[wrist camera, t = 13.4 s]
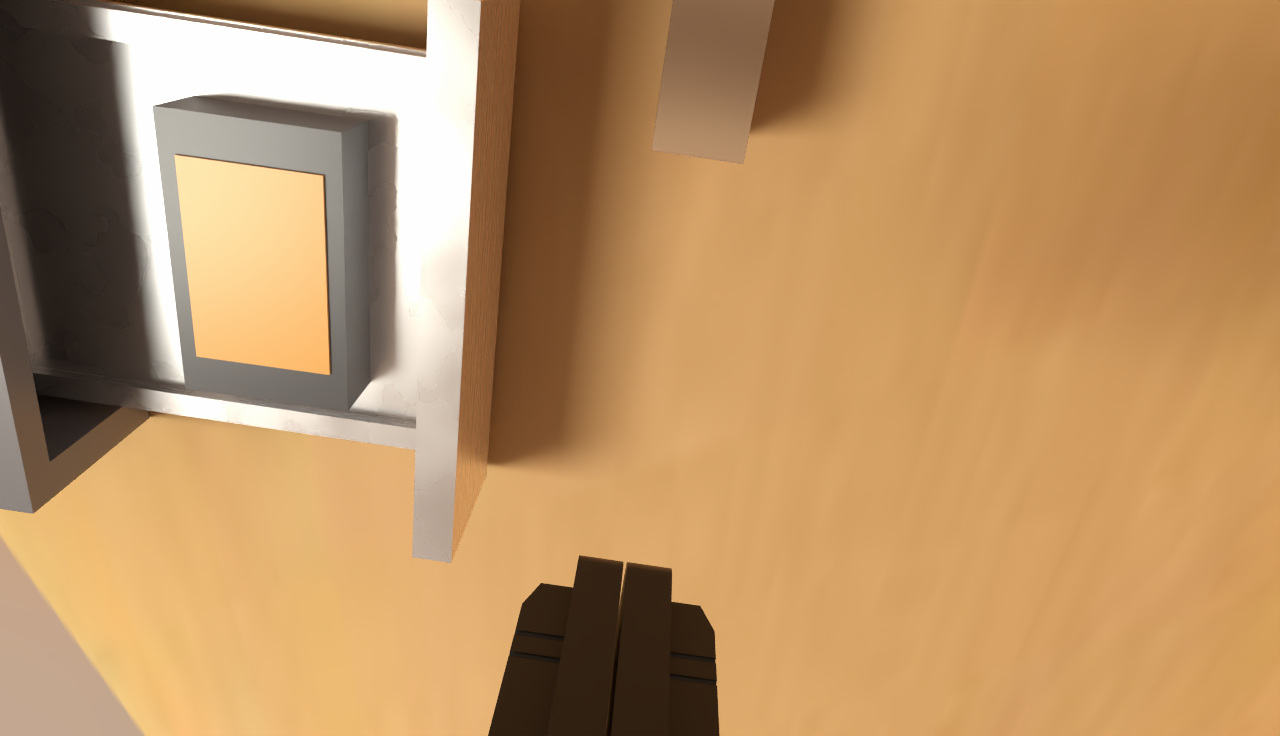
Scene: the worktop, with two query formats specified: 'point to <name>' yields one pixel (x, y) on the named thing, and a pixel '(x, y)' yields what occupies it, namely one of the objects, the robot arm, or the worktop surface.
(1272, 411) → the worktop surface
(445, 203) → the tray
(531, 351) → the worktop surface
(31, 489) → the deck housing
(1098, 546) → the worktop surface
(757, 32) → the brown rectangular block
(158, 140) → the block
